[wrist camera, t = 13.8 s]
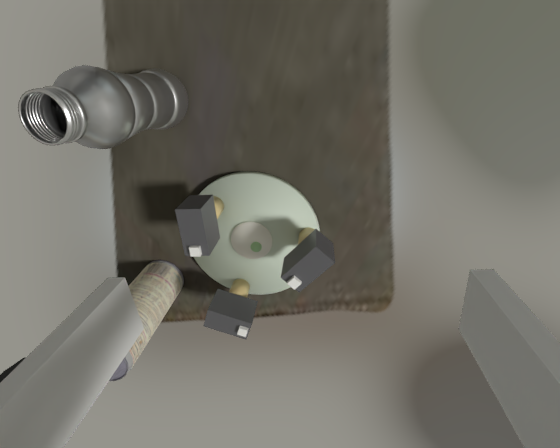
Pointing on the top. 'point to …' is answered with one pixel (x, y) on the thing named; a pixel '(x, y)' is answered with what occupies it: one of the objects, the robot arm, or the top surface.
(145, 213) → the top surface
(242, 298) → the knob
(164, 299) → the aerosol can
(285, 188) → the base
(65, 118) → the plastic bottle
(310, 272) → the grey block on peg
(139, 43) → the top surface
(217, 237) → the dark grey rectangular block
